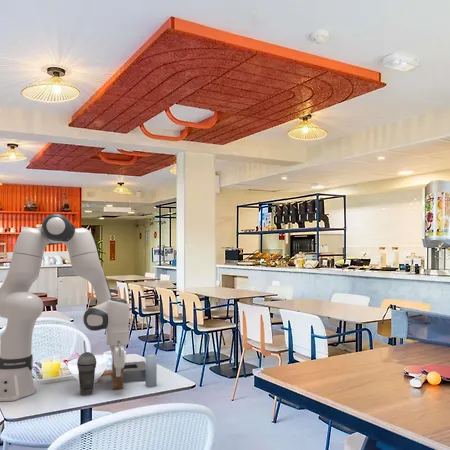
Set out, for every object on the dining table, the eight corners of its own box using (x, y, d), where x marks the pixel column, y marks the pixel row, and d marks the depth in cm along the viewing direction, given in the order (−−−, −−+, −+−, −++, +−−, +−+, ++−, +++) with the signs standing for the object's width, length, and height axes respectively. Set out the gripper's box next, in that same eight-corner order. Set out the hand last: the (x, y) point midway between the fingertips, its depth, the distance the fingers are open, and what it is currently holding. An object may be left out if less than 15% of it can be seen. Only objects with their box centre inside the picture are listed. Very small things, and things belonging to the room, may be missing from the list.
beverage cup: (90, 397, 179) (91, 343, 180) (72, 396, 181) (73, 342, 181) (99, 391, 186) (100, 339, 187) (82, 389, 188) (82, 338, 188)
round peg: (146, 387, 191) (146, 357, 191) (144, 384, 195) (144, 354, 195) (157, 386, 192) (157, 356, 193) (155, 383, 196) (155, 353, 197)
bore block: (114, 383, 196) (114, 372, 196) (112, 374, 210) (112, 363, 210) (148, 380, 200) (148, 369, 201) (144, 371, 214) (144, 361, 214)
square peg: (112, 389, 188) (113, 358, 189) (112, 386, 192) (112, 356, 192) (123, 388, 189) (123, 357, 190) (122, 385, 193) (122, 355, 194)
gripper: (128, 344, 182) (128, 381, 182) (123, 333, 202) (123, 367, 201) (111, 345, 180) (111, 382, 180) (108, 334, 200) (108, 368, 200)
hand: (117, 374), depth 191 cm, fingers closed on square peg, 4 cm apart
